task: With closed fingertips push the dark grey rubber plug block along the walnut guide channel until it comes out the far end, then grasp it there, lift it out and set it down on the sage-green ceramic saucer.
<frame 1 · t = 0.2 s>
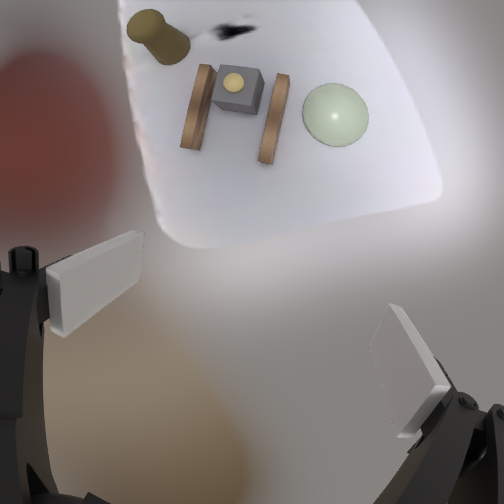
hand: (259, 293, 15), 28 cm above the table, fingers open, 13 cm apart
cork: (172, 49, 36), on the table
plug: (243, 95, 37), on the table
guide channel: (238, 115, 38), on the table
saucer: (335, 115, 36), on the table
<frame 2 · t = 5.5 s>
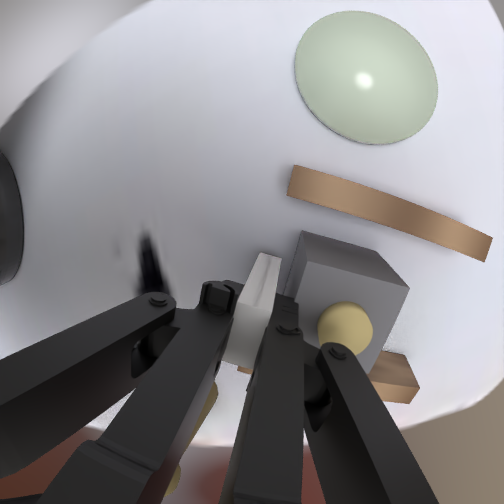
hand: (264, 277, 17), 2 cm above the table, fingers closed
cork: (184, 384, 23), on the table
plug: (328, 277, 19), on the table, touching gripper
guide channel: (358, 283, 18), on the table
saucer: (367, 75, 15), on the table
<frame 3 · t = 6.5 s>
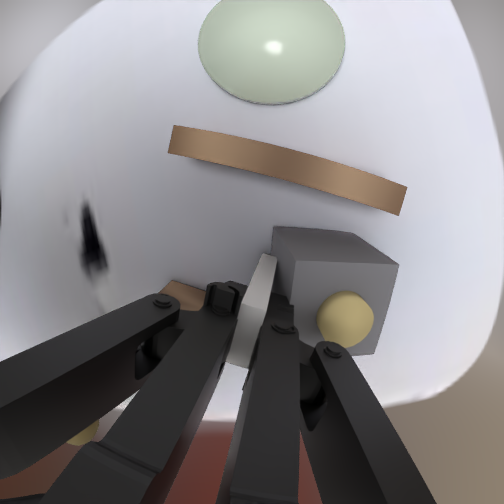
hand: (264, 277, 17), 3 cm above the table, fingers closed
cork: (124, 347, 24), on the table
plug: (308, 267, 19), on the table, tilted 14°, touching gripper
guide channel: (268, 245, 19), on the table
saucer: (271, 41, 15), on the table
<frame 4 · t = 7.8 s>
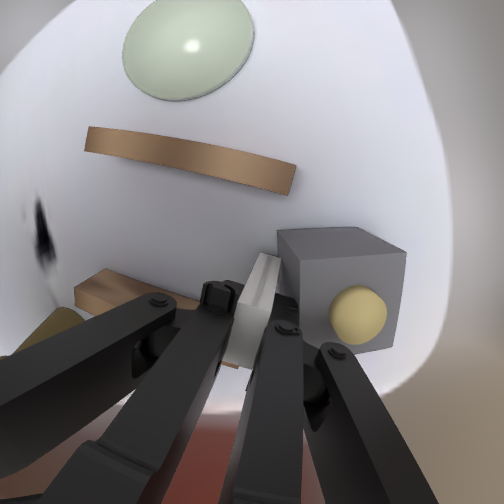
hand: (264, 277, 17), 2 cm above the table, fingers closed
cork: (74, 334, 24), on the table
plug: (317, 267, 18), on the table, tilted 12°, touching gripper
guide channel: (182, 233, 19), on the table
saucer: (186, 41, 16), on the table
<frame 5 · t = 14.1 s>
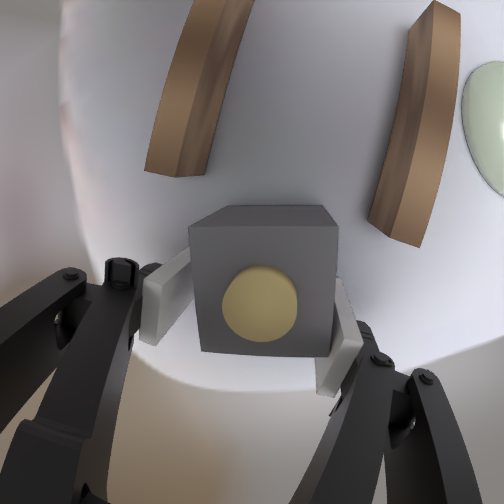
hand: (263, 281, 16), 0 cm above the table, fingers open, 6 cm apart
plug: (275, 251, 16), on the table, touching gripper
guide channel: (314, 88, 13), on the table
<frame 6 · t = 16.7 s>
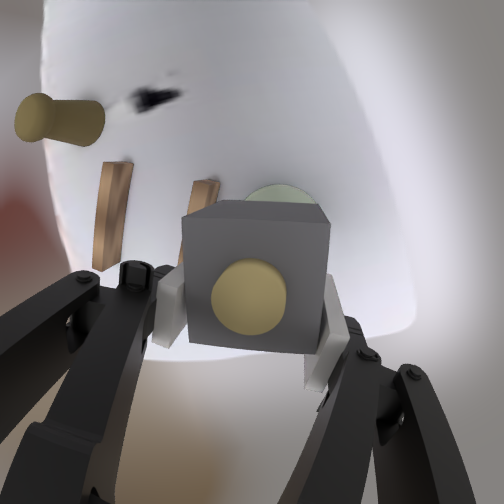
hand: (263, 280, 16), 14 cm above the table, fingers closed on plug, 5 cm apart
cork: (87, 123, 30), on the table
plug: (268, 247, 16), point 14 cm above the table, touching gripper
guide channel: (158, 223, 32), on the table
saucer: (279, 228, 30), on the table
when the fingers open (1 cm above the table, at t = 19.2 s): plug stays where it is, resting on saucer.
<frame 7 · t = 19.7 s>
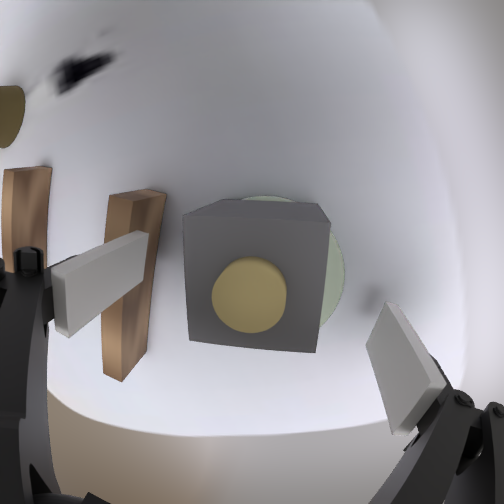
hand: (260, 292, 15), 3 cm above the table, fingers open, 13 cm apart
cork: (9, 116, 18), on the table
plug: (268, 247, 16), point 1 cm above the table, touching saucer
guide channel: (84, 257, 19), on the table
saucer: (266, 272, 18), on the table
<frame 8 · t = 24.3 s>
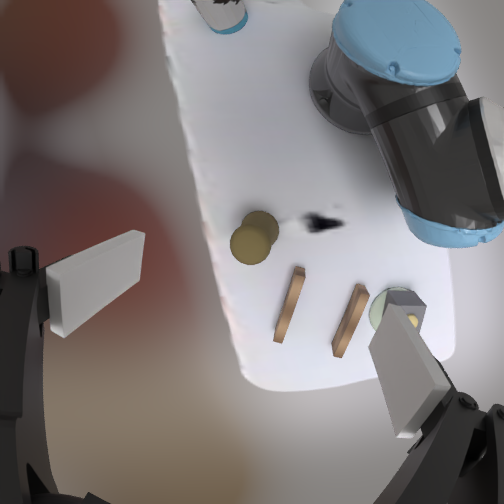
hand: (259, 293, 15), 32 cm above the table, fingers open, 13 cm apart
cork: (259, 229, 46), on the table
cup: (228, 19, 37), on the table
plug: (397, 304, 45), point 1 cm above the table, touching saucer
guide channel: (319, 308, 48), on the table
saucer: (393, 311, 46), on the table
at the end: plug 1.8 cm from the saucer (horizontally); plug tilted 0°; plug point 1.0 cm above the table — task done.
